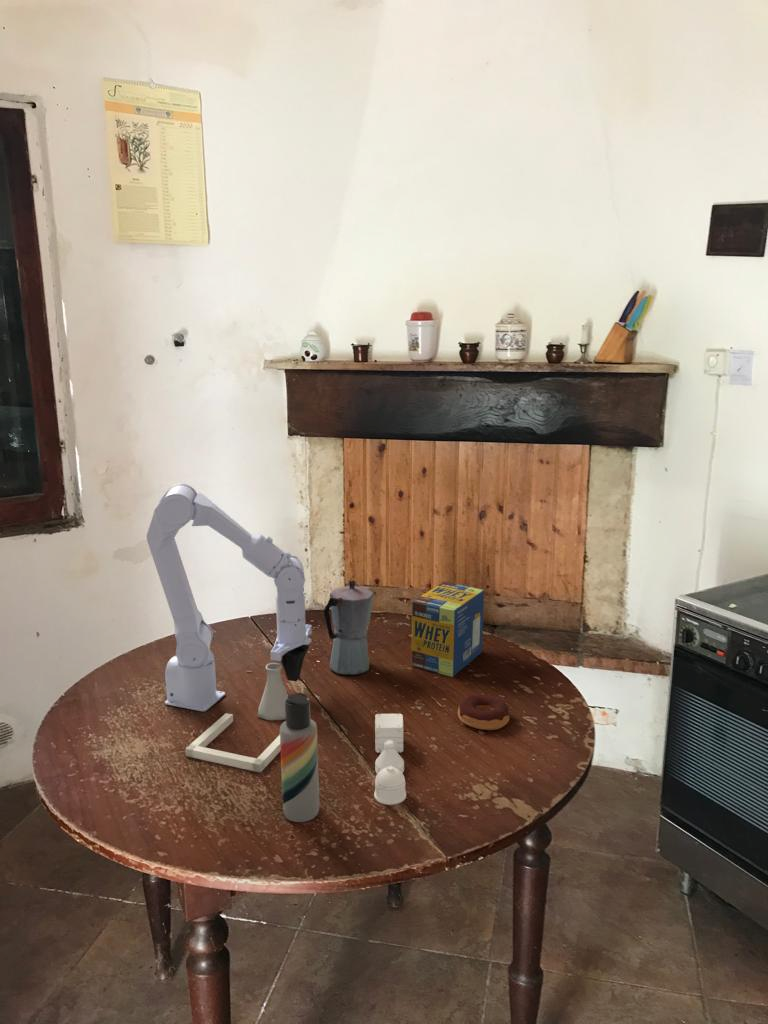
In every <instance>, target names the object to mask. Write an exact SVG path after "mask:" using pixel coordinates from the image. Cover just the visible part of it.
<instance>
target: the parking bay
mask: <svg viewBox="0 0 768 1024" xmlns="http://www.w3.org/2000/svg"><path fill="white" fill-rule="evenodd" d="M233 722H234V714H232V713H228V712H226V713H224V714H223V715H222V716H220V717H219V719H218V720H216V721H215V722H214V723H213V724H212V725H211V726H209V728H207V729H206V730H205V731H203V732H202V733H201V734H200V735H199V736H198V737H197V738H195V740H193V741H192V742H191V743H190V744H189V745H188V746H186V748H185V756H186V757H187V758H192V759H197V760H202V761H206V762H211V763H217V764H220V765H223V766H225V765H226V766H230V767H234V768H238V769H243V770H248V771H251V772H256V773H262V772H263V771H264V770H265V768H267V766H268V765H269V764H270V763H271V762H272V761H273V760H274V759H275V757H277V755H278V754H279V753H281V747H280V734H278V736H277V737H276V738H275V739H274V740H273V741H272V742H271V743H270V744H269V745H268V747H266V748H265V749H264V750H263V752H262V753H260V754H259V755H258V757H257V758H256V757H253V756H252V757H251V756H246V755H241V754H237V753H233V752H232V753H231V752H228V751H223V750H219V749H213V748H208V747H207V746H208V745H209V744H210V743H211V742H212V741H214V740H215V739H216V737H218V736H219V735H220V734H221V733H222V732H224V731H225V729H227V728H228V727H229V726H230V725H231V724H233Z"/></svg>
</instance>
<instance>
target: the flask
mask: <svg viewBox="0 0 768 1024" xmlns="http://www.w3.org/2000/svg"><path fill="white" fill-rule="evenodd" d="M282 667H283V665H282V663H280V662H269V663H267V664H266V665H265V672H266V674H267V675H266V676H267V678H266V683H265V687H264V690H263V693H262V697H261V700H260V702H259V703H260V704H259V705H258V709H257V718H260V719H264V720H266V721H283V720H284V721H286V714H285V700H286V698H287V697H288V696H289V694H288V692H287V690H286V687H285V685H284V683H283V680H282V674H281V670H282Z"/></svg>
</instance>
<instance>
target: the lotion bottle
mask: <svg viewBox="0 0 768 1024" xmlns="http://www.w3.org/2000/svg"><path fill="white" fill-rule="evenodd" d="M285 714H286V719H285V720H284V721H283V722H282V723H281V724H280V727H279V735H280V747H281V751H280V767H281V768H280V769H281V770H280V771H281V786H282V788H281V789H282V793H281V795H282V810H283V815H284V817H285V818H286V819H287V820H289V821H291V822H295V823H305V822H308V821H312V820H313V819H315V818H316V817H317V816H318V815H319V811H320V788H319V787H320V784H319V783H320V782H319V780H320V779H319V751H318V750H319V748H318V747H319V746H318V744H319V743H318V726H317V723H316V722H315V721H314V720H313V719H312V718H311V699H310V697H309V696H308V695H306V694H304V693H301V692H295V693H290V694H288V697H287V698H286V700H285Z"/></svg>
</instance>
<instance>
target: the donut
mask: <svg viewBox="0 0 768 1024" xmlns="http://www.w3.org/2000/svg"><path fill="white" fill-rule="evenodd" d="M509 710H510V709H509V706H508V704H507V703H506V701H505V700H503V699H502V698H499V697H497V696H493V695H489V694H488V695H486V694H478V693H477V694H470V695H466V696H465V697H463V698H462V699H461V700H459V703H458V709H457V717H458V718H459V720H460V722H461V723H463V724H465V726H466V725H467V726H468V727H472V728H474V729H478V730H484V731H496V730H499V729H501V728H503V727H505V726H506V725H508V723H509V721H510V711H509Z"/></svg>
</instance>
